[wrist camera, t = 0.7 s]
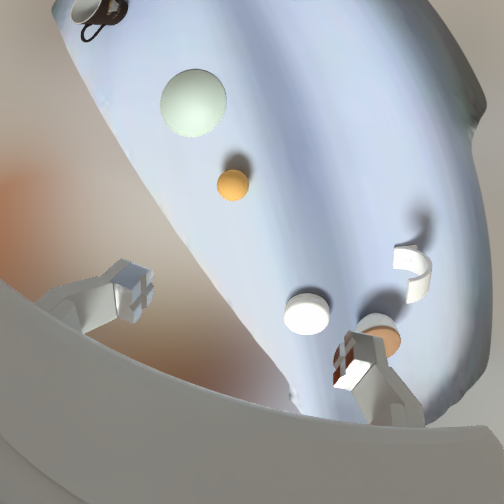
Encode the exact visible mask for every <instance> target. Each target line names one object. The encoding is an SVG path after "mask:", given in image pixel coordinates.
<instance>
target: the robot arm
mask: <svg viewBox="0 0 504 504" xmlns="http://www.w3.org/2000/svg"><path fill="white" fill-rule="evenodd" d="M153 279H154V271H153V270H152V269H149V268H147V267H144V266H141V265H139V264H136V263H134V262H131V261H129V260H126V259H120V260H118V261H117V262H116V263H115V264H114V265H113V266H112V267H111V268H109V269H108V270H107V271H106V272H105V273H104V274H103V275H102V276H101V277H98V276H96V277H92V278H89V279H84V280H81V281H77V282H73V283H70V284H66V285H62V286H58V287H55V288H51V289H50V290H49V291H48V292H47V293H45V294H44V295H43V296H42V297H41V298H40V299H39V300H38V301H37V302H36V303H32V302H31V301H30V300H28V299H27V298H25V297H24V296H22V295H21V294H20V293H18V292H17V291H15V290H14V289H13V288H12V287H10V286H9V285H8V284H6V283H5V282H4V281H2V280H1V279H0V504H504V449H503V446H502V445H501V443H500V441H499V440H498V439H497V437H496V436H495V435H494V434H493V433H492V431H491V430H490V429H489V428H488V427H487V426H484V425H477V426H466V427H445V428H426V427H425V420H424V414H423V409H422V405H421V403H420V402H419V401H418V400H417V398H416V397H415V396H414V395H413V393H412V392H411V391H410V390H409V388H408V387H407V386H406V385H405V383H404V382H403V381H402V380H401V378H400V377H399V376H398V375H397V373H396V372H395V371H394V370H393V369H392V367H389V366H388V361H387V356H386V351H385V346H384V341H383V338H382V337H378V336H373V335H367V334H363V333H359V332H355V331H351V330H349V331H348V332H347V333H346V334H345V336H344V342H343V343H341V344H339V346H338V347H337V349H336V352H335V354H334V359H333V366H334V367H335V369H336V371H335V372H334V373H333V387H337V388H342V389H346V390H351V392H352V394H353V396H354V398H355V399H356V401H357V403H358V405H359V407H360V409H361V411H362V413H363V415H364V416H365V418H366V420H367V422H368V424H369V425H368V424H359V423H351V422H343V421H336V420H330V419H324V418H318V417H312V416H307V415H302V414H297V413H292V412H288V411H283V410H279V409H274V408H271V407H266V406H263V405H259V404H255V403H251V402H247V401H244V400H241V399H237V398H234V397H231V396H227V395H224V394H221V393H218V392H215V391H212V390H209V389H206V388H203V387H200V386H197V385H194V384H192V383H189V382H186V381H184V380H181V379H178V378H176V377H173V376H171V375H168V374H166V373H163V372H161V371H158V370H156V369H154V368H151V367H149V366H147V365H144V364H142V363H140V362H138V361H136V360H133V359H131V358H129V357H127V356H125V355H123V354H121V353H119V352H117V351H114V350H113V349H111V348H109V347H107V346H105V345H103V344H101V343H99V342H97V341H95V340H93V339H92V338H90V337H88V336H86V335H84V333H86V332H88V331H90V330H93V329H95V328H97V327H99V326H101V325H103V324H105V323H107V322H109V321H111V320H114V319H116V318H117V317H118V318H121V319H123V320H125V321H128V322H130V323H133V324H135V322H136V321H137V320H138V318H139V317H140V316H141V314H142V309H144V308H146V307H148V305H149V304H150V302H151V300H152V297H153V293H154V286H153V285H152V283H151V281H152V280H153Z"/></svg>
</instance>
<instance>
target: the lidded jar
mask: <svg viewBox="0 0 504 504" xmlns="http://www.w3.org/2000/svg"><path fill="white" fill-rule="evenodd" d="M355 332H359V333H363V334H367V335H373V336H378V337H382V338H383V341H384V346H385V351H386V356H387V358H388V357H390V356H391V355H393V354H394V353H395V352H396V351H397V350H398V348H399V346H400V343H401V338H400V335H399V332H398V329H397V327H396V325H395V323H394V321H393V320H392V319H391V318H390V317H388V316H387V315H385V314H381V313H371V314H368V315H366V316H365V317H364V318H363V319H361V320H360V322H359V323H358V324H357V326H356V328H355Z"/></svg>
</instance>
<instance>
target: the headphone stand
mask: <svg viewBox="0 0 504 504" xmlns="http://www.w3.org/2000/svg"><path fill="white" fill-rule="evenodd" d="M393 269H406V270H410V271H412V272H415V273H416V274H418V275H419V276H418V277H416V278H412V279H408V287H407V295H406V303H407V304H409V303H413V302H416V301H419V300H420V299H422V298H423V297H424V296H425V295H426V294H427V292H428V290H429V284H430V278H431V272H432V262H431V260H430V259H429V257H428V256H427V255H425V254H424V253H422V252H421V251H418V250H417V245H409V246H398V247H394V250H393Z"/></svg>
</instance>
